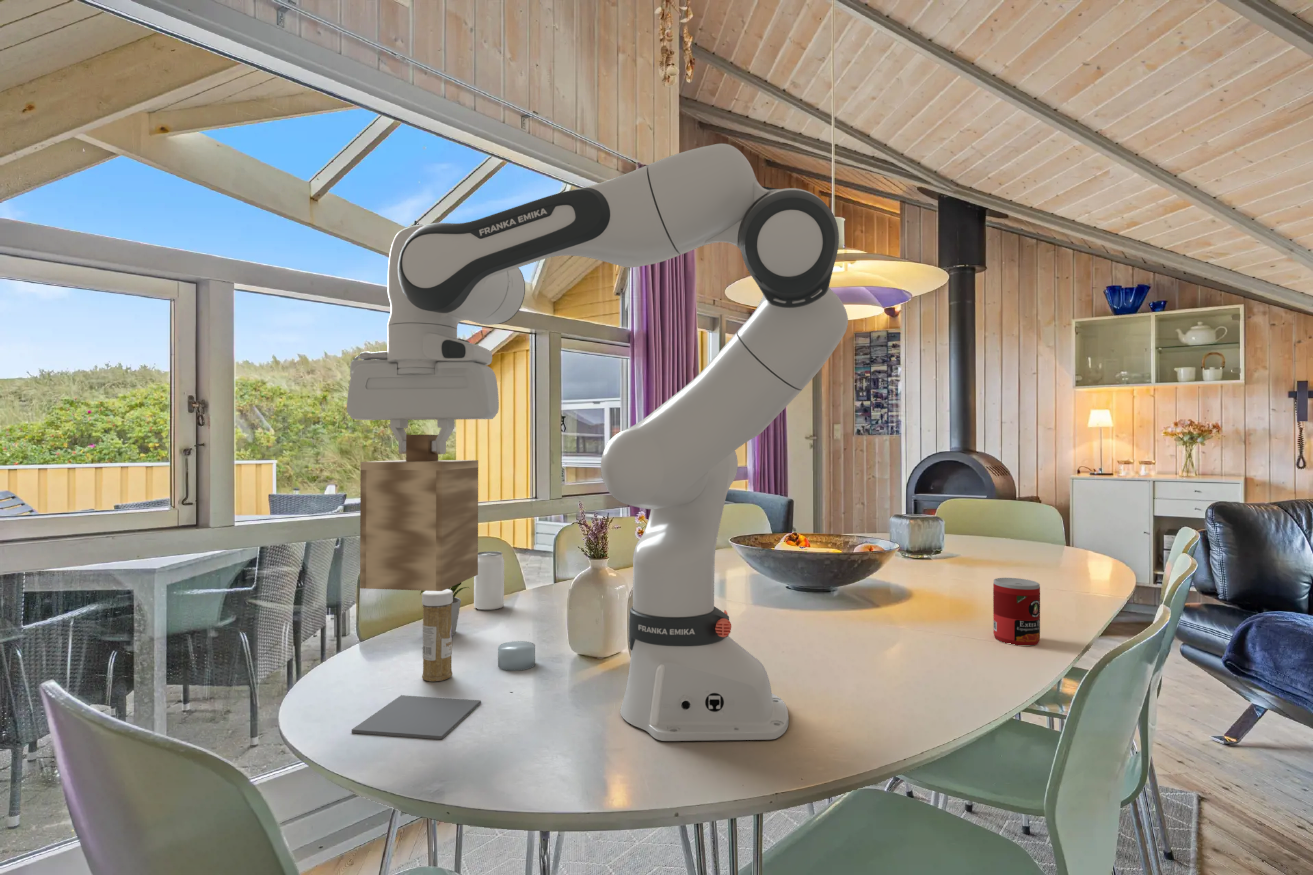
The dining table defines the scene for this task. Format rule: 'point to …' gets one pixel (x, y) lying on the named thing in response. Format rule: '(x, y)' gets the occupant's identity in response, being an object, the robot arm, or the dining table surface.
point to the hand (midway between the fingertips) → (422, 454)
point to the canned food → (1016, 611)
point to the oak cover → (418, 520)
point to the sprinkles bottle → (437, 635)
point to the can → (489, 581)
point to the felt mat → (418, 717)
